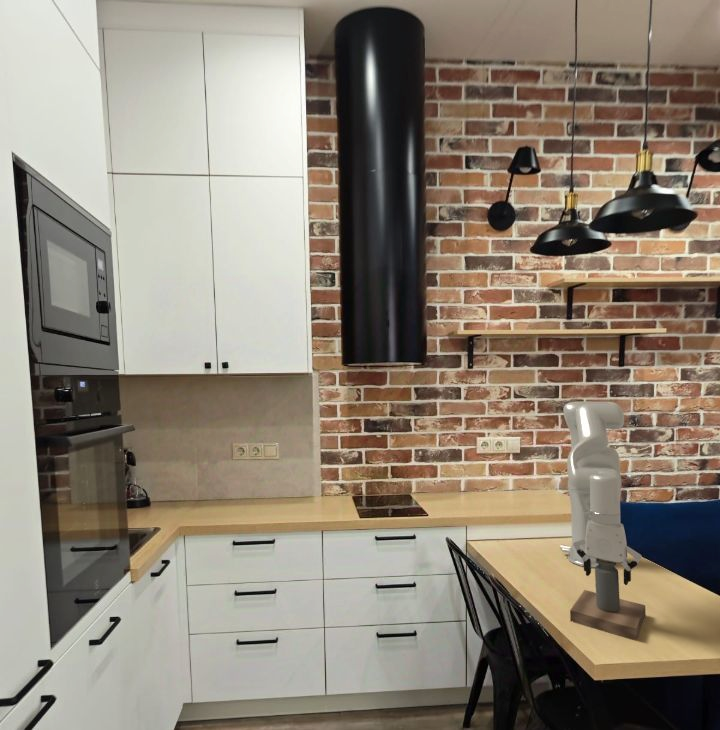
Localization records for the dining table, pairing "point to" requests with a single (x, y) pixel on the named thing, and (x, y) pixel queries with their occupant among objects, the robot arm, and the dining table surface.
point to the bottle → (607, 586)
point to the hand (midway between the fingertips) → (607, 578)
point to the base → (609, 616)
